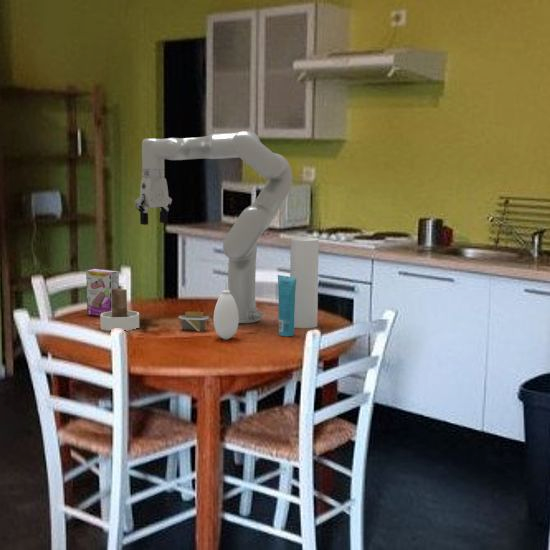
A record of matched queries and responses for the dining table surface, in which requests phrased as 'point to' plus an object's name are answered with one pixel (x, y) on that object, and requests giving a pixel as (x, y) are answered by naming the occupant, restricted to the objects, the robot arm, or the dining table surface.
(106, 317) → the grey round dish
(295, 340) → the dining table surface
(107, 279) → the candy bar box
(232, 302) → the sauce bottle
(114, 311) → the brown rectangular block
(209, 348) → the dining table surface
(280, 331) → the tube
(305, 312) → the cylinder container
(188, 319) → the grey basket
